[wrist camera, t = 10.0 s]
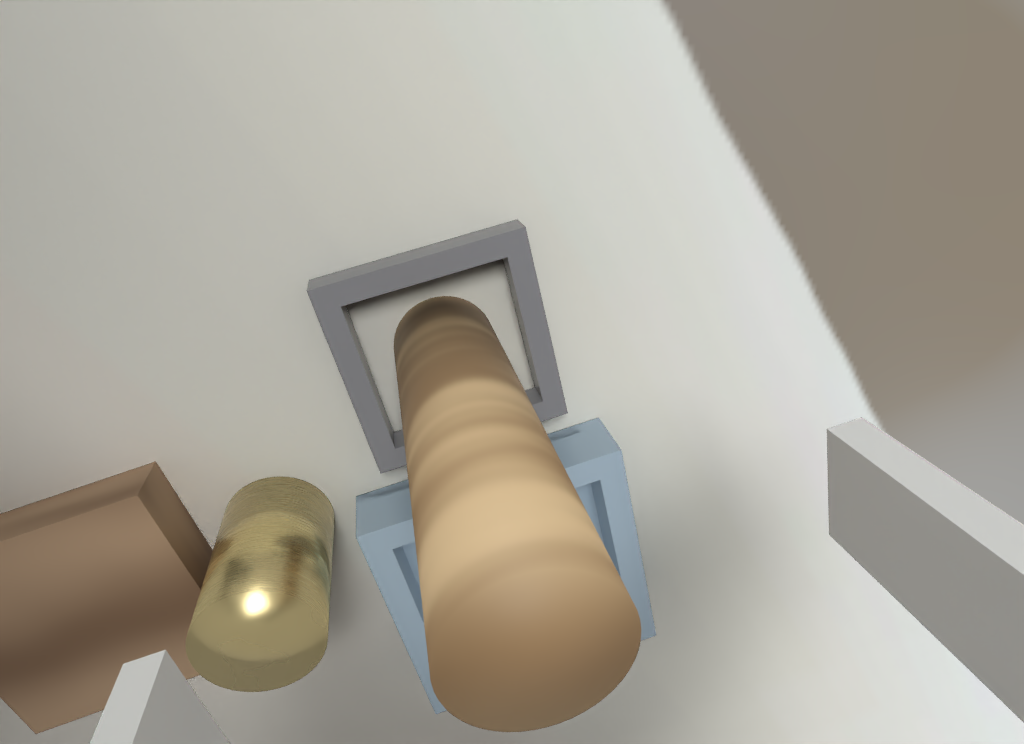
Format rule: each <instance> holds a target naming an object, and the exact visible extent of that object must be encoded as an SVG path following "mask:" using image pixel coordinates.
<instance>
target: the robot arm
mask: <svg viewBox="0 0 1024 744" xmlns="http://www.w3.org/2000/svg"><path fill="white" fill-rule="evenodd" d="M827 461H828V508H829V535H830V536H831V537H832V538H833V539H834V540H835V541H836V542H837V543H838V544H839V545H840V546H841V547H843V548H844V549H845V550H846V551H847V552H848V553H849V554H850V555H851V556H852V557H853V558H854V559H855V560H856V561H857V562H858V563H859V564H860V565H861V566H862V567H863V568H864V569H865V570H866V571H867V572H868V573H869V574H870V575H872V576H873V577H874V578H875V579H876V580H877V581H878V582H879V583H880V584H881V585H882V586H883V587H884V588H885V589H886V590H887V591H888V592H889V593H890V594H891V595H892V596H893V597H894V598H895V599H896V600H897V601H898V602H899V603H900V604H902V605H903V606H904V607H905V608H906V609H907V610H908V611H909V612H910V613H911V614H912V615H913V616H914V617H915V618H916V619H917V620H918V621H919V622H920V623H921V624H922V625H923V626H924V627H925V628H926V629H927V630H928V631H929V632H931V633H932V634H933V635H934V636H935V637H936V638H937V639H938V640H939V641H940V642H941V643H942V644H943V645H944V646H945V647H946V648H947V649H948V650H949V651H950V652H951V653H952V654H953V655H954V656H955V657H956V658H957V659H958V660H959V661H961V662H962V663H963V664H964V665H965V666H966V667H967V668H968V669H969V670H970V671H971V672H972V673H973V674H974V675H975V676H976V677H977V678H978V679H979V680H980V681H981V682H982V683H983V684H984V685H985V686H986V687H987V688H988V689H989V690H991V691H992V692H993V693H994V694H995V695H996V696H997V697H998V698H999V699H1000V700H1001V701H1002V702H1003V703H1004V704H1005V705H1006V706H1007V707H1008V708H1009V709H1010V710H1011V711H1012V712H1013V713H1014V714H1015V715H1016V716H1017V717H1018V718H1020V719H1021V720H1022V721H1023V722H1024V525H1023V524H1021V523H1020V522H1019V521H1017V520H1016V519H1014V518H1013V517H1011V516H1010V515H1008V514H1007V513H1005V512H1004V511H1002V510H1001V509H999V508H998V507H996V506H994V505H993V504H991V503H990V502H989V501H987V500H985V499H984V498H983V497H981V496H980V495H978V494H976V493H975V492H974V491H972V490H970V489H969V488H967V487H966V486H964V485H963V484H961V483H960V482H958V481H957V480H955V479H954V478H952V477H951V476H949V475H948V474H946V473H945V472H943V471H942V470H940V469H939V468H937V467H936V466H934V465H933V464H931V463H930V462H928V461H927V460H925V459H924V458H922V457H921V456H919V455H918V454H916V453H915V452H913V451H912V450H910V449H909V448H907V447H906V446H904V445H903V444H901V443H900V442H898V441H897V440H895V439H894V438H892V437H891V436H889V435H888V434H886V433H885V432H883V431H882V430H880V429H879V428H877V427H876V426H874V425H873V424H871V423H870V422H868V421H867V420H865V419H864V418H862V417H861V418H858V419H855V420H852V421H849V422H846V423H843V424H840V425H837V426H834V427H831V428H828V429H827ZM90 744H230V743H229V741H228V740H227V738H226V737H225V735H224V734H223V732H222V731H221V729H220V728H219V727H218V725H217V724H216V722H215V721H214V719H213V718H212V716H211V715H210V713H209V712H208V710H207V709H206V708H205V706H204V705H203V703H202V702H201V700H200V699H199V697H198V696H197V694H196V693H195V692H194V690H193V689H192V687H191V686H190V684H189V683H188V681H187V680H186V678H185V677H184V676H183V674H182V673H181V671H180V670H179V668H178V667H177V665H176V664H175V662H174V661H173V659H172V658H171V657H170V655H169V654H168V652H167V651H166V650H163V651H160V652H157V653H154V654H151V655H148V656H145V657H142V658H139V659H136V660H133V661H130V662H127V663H124V664H123V666H122V668H121V670H120V673H119V675H118V677H117V680H116V682H115V685H114V687H113V689H112V692H111V694H110V696H109V699H108V701H107V704H106V706H105V708H104V711H103V713H102V715H101V718H100V720H99V723H98V725H97V727H96V730H95V732H94V734H93V737H92V739H91V742H90Z"/></svg>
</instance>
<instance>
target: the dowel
mask: <svg viewBox="0 0 1024 744" xmlns="http://www.w3.org/2000/svg"><path fill="white" fill-rule="evenodd" d="M394 353H395V363H396V372H397V381H398V390H399V399H400V408H401V417H402V426H403V435H404V445H405V454H406V463H407V472H408V481H409V490H410V499H411V508H412V517H413V527H414V536H415V545H416V554H417V563H418V572H419V581H420V590H421V599H422V609H423V618H424V627H425V636H426V645H427V654H428V663H429V672H430V680H431V684H432V688H433V691H434V693H435V695H436V697H437V698H438V700H439V702H440V703H441V704H442V705H443V706H444V708H445V709H446V710H447V711H449V712H450V713H451V714H452V715H453V716H455V717H456V718H458V719H460V720H461V721H463V722H465V723H467V724H470V725H472V726H475V727H478V728H482V729H486V730H492V731H501V732H522V731H529V730H536V729H541V728H545V727H549V726H552V725H555V724H559V723H561V722H564V721H566V720H569V719H571V718H573V717H575V716H577V715H579V714H581V713H583V712H585V711H586V710H588V709H590V708H591V707H593V706H594V705H596V704H597V703H598V702H600V701H601V700H602V699H604V698H605V697H606V696H607V695H608V694H609V693H610V692H612V691H613V690H614V689H615V688H616V686H617V685H618V684H619V683H620V682H621V681H622V680H623V678H624V677H625V675H626V674H627V673H628V671H629V670H630V668H631V666H632V664H633V662H634V660H635V658H636V655H637V653H638V650H639V646H640V641H641V621H640V617H639V614H638V610H637V609H636V607H635V605H634V603H633V601H632V599H631V597H630V595H629V593H628V591H627V589H626V587H625V585H624V583H623V581H622V579H621V577H620V575H619V573H618V571H617V570H616V568H615V566H614V564H613V562H612V560H611V558H610V556H609V554H608V552H607V550H606V548H605V546H604V544H603V542H602V540H601V538H600V536H599V534H598V533H597V531H596V529H595V527H594V525H593V523H592V521H591V519H590V517H589V515H588V513H587V511H586V509H585V507H584V505H583V503H582V501H581V499H580V497H579V496H578V494H577V492H576V490H575V488H574V486H573V484H572V482H571V480H570V478H569V476H568V474H567V472H566V470H565V468H564V466H563V464H562V462H561V460H560V459H559V457H558V455H557V453H556V451H555V449H554V447H553V445H552V443H551V441H550V439H549V437H548V435H547V433H546V431H545V429H544V427H543V425H542V423H541V422H540V420H539V418H538V416H537V414H536V412H535V410H534V408H533V406H532V404H531V402H530V400H529V398H528V396H527V394H526V392H525V390H524V388H523V386H522V385H521V383H520V381H519V379H518V377H517V375H516V373H515V371H514V369H513V367H512V365H511V363H510V361H509V359H508V357H507V355H506V353H505V351H504V350H503V348H502V346H501V344H500V342H499V340H498V338H497V336H496V334H495V332H494V330H493V328H492V326H491V324H490V322H489V320H488V318H487V317H486V316H485V314H484V313H483V312H482V311H481V310H480V309H479V308H478V307H477V306H475V305H474V304H472V303H470V302H469V301H466V300H464V299H461V298H457V297H451V296H441V297H435V298H430V299H428V300H425V301H423V302H421V303H419V304H417V305H416V306H414V307H413V308H412V309H410V310H409V311H408V312H407V313H406V314H405V316H404V317H403V318H402V320H401V321H400V323H399V325H398V327H397V329H396V333H395V337H394Z"/></svg>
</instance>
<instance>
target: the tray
mask: <svg viewBox="0 0 1024 744" xmlns="http://www.w3.org/2000/svg"><path fill="white" fill-rule="evenodd" d="M547 435H548V437H549V439H550V441H551V443H552V445H553V447H554V449H555V451H556V453H557V455H558V457H559V459H560V460H561V462H562V464H563V466H564V468H565V470H566V472H567V474H568V476H569V478H570V480H571V482H572V484H573V486H574V488H575V490H576V492H577V494H578V496H579V497H580V499H581V501H582V503H583V505H584V507H585V509H586V511H587V513H588V515H589V517H590V519H591V521H592V523H593V525H594V527H595V529H596V531H597V533H598V534H599V536H600V538H601V540H602V542H603V544H604V546H605V548H606V550H607V552H608V554H609V556H610V558H611V560H612V562H613V564H614V566H615V568H616V570H617V571H618V573H619V575H620V577H621V579H622V581H623V583H624V585H625V587H626V589H627V591H628V593H629V595H630V597H631V599H632V601H633V603H634V605H635V607H636V609H637V610H638V614H639V617H640V621H641V640H644V639H647V638H650V637H653V636H655V635H656V632H655V626H654V621H653V616H652V610H651V605H650V600H649V594H648V589H647V584H646V579H645V573H644V568H643V563H642V557H641V552H640V547H639V541H638V536H637V531H636V525H635V520H634V515H633V510H632V504H631V499H630V494H629V488H628V483H627V478H626V472H625V467H624V462H623V456H622V451H621V449H620V447H619V446H618V444H617V443H616V442H615V440H614V439H613V437H612V436H611V435H610V433H609V432H608V430H607V429H606V427H605V426H604V425H603V423H602V422H601V420H600V419H599V418H596V419H593V420H590V421H587V422H584V423H581V424H578V425H575V426H572V427H569V428H566V429H562V430H559V431H556V432H553V433H550V434H547ZM356 538H357V541H358V543H359V545H360V547H361V549H362V552H363V554H364V556H365V558H366V561H367V563H368V565H369V567H370V569H371V572H372V574H373V576H374V578H375V580H376V583H377V585H378V587H379V589H380V592H381V594H382V596H383V598H384V600H385V603H386V605H387V607H388V609H389V611H390V614H391V616H392V618H393V620H394V623H395V625H396V627H397V629H398V631H399V634H400V636H401V638H402V640H403V642H404V645H405V647H406V649H407V651H408V654H409V656H410V658H411V660H412V662H413V665H414V667H415V669H416V671H417V673H418V676H419V678H420V680H421V682H422V685H423V687H424V689H425V691H426V693H427V696H428V698H429V700H430V702H431V704H432V707H433V709H434V711H435V713H436V714H438V713H441V712H444V711H447V710H446V709H445V708H444V706H443V705H442V704H441V703H440V702H439V700H438V698H437V697H436V695H435V693H434V691H433V688H432V684H431V680H430V672H429V663H428V654H427V645H426V636H425V627H424V618H423V609H422V599H421V590H420V581H419V572H418V563H417V554H416V545H415V536H414V527H413V517H412V508H411V499H410V490H409V481H408V480H405V481H402V482H399V483H396V484H393V485H390V486H387V487H384V488H381V489H378V490H374V491H371V492H368V493H365V494H362V495H359V496H356Z"/></svg>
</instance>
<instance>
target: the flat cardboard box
mask: <svg viewBox="0 0 1024 744" xmlns="http://www.w3.org/2000/svg"><path fill="white" fill-rule="evenodd" d="M212 552H213V550H212V549H211V547H210V546H209V544H208V542H207V541H206V539H205V538H204V536H203V535H202V533H201V531H200V530H199V528H198V527H197V525H196V524H195V522H194V520H193V519H192V517H191V516H190V514H189V513H188V511H187V510H186V508H185V506H184V505H183V503H182V502H181V500H180V499H179V497H178V495H177V494H176V492H175V491H174V489H173V488H172V486H171V485H170V483H169V481H168V480H167V478H166V477H165V475H164V474H163V472H162V470H161V469H160V467H159V466H158V464H157V463H156V462H153V463H150V464H147V465H144V466H141V467H138V468H135V469H132V470H129V471H126V472H123V473H120V474H117V475H114V476H111V477H108V478H105V479H103V480H100V481H97V482H94V483H91V484H88V485H85V486H82V487H79V488H76V489H73V490H70V491H67V492H64V493H61V494H58V495H55V496H52V497H49V498H46V499H43V500H40V501H37V502H34V503H32V504H29V505H26V506H23V507H20V508H17V509H14V510H11V511H8V512H5V513H2V514H0V698H1V699H2V700H3V701H4V702H5V703H6V704H7V705H8V706H9V707H10V708H11V709H12V710H13V711H14V712H15V713H16V714H17V715H18V716H19V717H20V718H21V719H22V720H23V721H24V722H25V723H26V724H27V725H28V726H29V727H30V728H31V729H32V731H33V732H34V733H35V734H38V733H40V732H43V731H46V730H49V729H51V728H54V727H57V726H60V725H63V724H65V723H68V722H71V721H74V720H76V719H79V718H82V717H85V716H87V715H90V714H93V713H96V712H99V711H101V710H104V708H105V706H106V704H107V701H108V699H109V696H110V694H111V692H112V689H113V687H114V685H115V682H116V680H117V677H118V675H119V673H120V670H121V668H122V666H123V664H124V663H127V662H130V661H133V660H136V659H139V658H142V657H145V656H148V655H151V654H154V653H157V652H160V651H163V650H166V651H167V652H168V654H169V655H170V657H171V658H172V659H173V661H174V662H175V664H176V665H177V667H178V668H179V670H180V671H181V673H182V674H183V676H184V677H185V678H186V680H187V679H190V678H193V677H195V676H198V675H200V674H199V673H198V672H197V671H196V670H195V669H194V668H193V667H192V665H191V663H190V661H189V659H188V657H187V654H186V637H187V633H188V630H189V627H190V623H191V620H192V617H193V614H194V611H195V607H196V604H197V601H198V598H199V594H200V591H201V588H202V585H203V581H204V578H205V575H206V572H207V568H208V565H209V562H210V559H211V555H212Z"/></svg>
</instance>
